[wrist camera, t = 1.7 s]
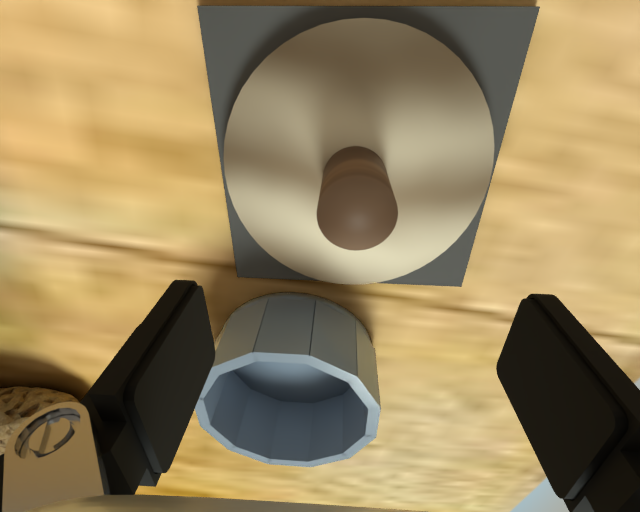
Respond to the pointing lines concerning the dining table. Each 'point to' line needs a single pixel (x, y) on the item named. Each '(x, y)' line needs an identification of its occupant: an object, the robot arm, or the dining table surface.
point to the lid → (358, 151)
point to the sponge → (24, 407)
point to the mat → (438, 21)
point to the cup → (292, 382)
